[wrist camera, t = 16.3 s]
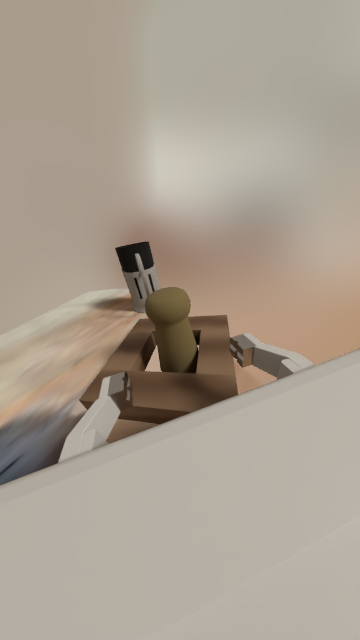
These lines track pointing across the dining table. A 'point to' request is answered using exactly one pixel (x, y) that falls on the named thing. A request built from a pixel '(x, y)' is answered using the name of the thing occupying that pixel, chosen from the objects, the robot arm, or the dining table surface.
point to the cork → (173, 330)
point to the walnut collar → (171, 388)
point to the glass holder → (138, 272)
